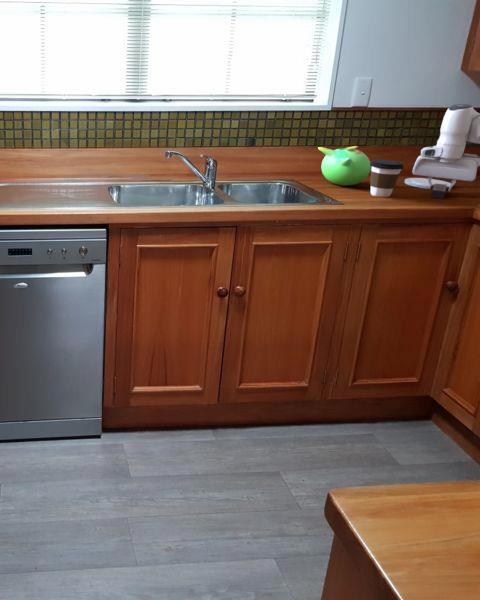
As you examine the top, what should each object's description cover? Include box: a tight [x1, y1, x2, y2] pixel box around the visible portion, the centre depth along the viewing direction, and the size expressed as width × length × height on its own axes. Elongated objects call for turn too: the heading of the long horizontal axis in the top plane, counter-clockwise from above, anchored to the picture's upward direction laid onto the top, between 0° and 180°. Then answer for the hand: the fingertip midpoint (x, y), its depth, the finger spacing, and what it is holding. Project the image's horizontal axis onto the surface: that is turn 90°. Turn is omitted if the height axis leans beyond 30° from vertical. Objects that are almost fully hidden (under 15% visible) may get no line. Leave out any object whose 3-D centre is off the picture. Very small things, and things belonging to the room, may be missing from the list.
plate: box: [404, 177, 454, 190], centre depth 239 cm, size 17×17×1 cm
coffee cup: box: [369, 158, 405, 198], centre depth 218 cm, size 11×11×12 cm
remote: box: [430, 183, 447, 200], centre depth 222 cm, size 14×4×3 cm, turn 149°
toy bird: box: [317, 145, 372, 187], centre depth 232 cm, size 18×17×15 cm
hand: (439, 190), depth 222 cm, fingers closed on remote, 4 cm apart
